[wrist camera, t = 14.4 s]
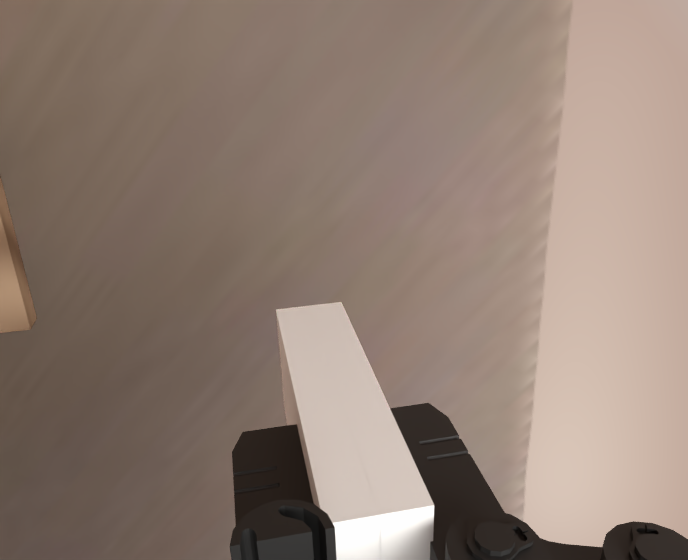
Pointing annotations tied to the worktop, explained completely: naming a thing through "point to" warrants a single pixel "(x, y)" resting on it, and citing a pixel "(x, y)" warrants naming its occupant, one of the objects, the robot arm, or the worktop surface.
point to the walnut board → (12, 277)
